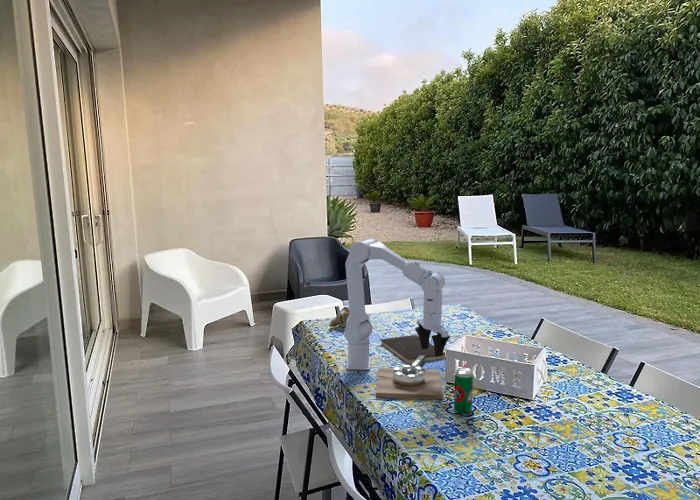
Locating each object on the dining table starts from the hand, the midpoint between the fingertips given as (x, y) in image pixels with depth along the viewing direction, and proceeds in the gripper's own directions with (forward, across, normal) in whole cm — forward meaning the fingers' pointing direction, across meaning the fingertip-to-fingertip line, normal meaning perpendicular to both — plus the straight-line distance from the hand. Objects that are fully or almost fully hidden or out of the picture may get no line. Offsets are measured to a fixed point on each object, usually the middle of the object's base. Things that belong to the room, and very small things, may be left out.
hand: (431, 352), depth 180 cm
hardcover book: (+10, +26, -10) cm, 30 cm away
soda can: (+10, -22, +5) cm, 25 cm away
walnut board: (+9, 0, +8) cm, 13 cm away
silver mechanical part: (+8, +3, +5) cm, 10 cm away
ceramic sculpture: (+10, +65, -1) cm, 65 cm away
